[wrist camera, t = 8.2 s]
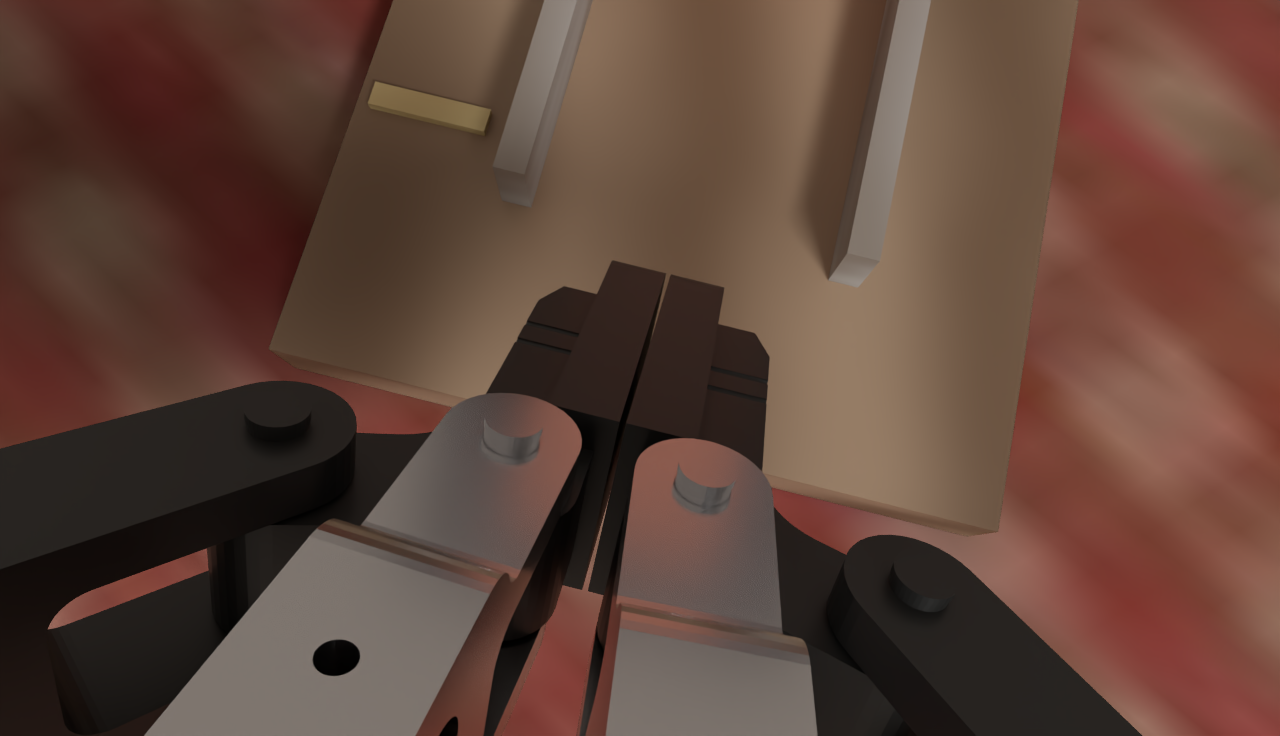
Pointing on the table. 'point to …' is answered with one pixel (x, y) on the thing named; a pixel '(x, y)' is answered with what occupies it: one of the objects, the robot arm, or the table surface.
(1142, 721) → the table surface
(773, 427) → the stand
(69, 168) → the table surface
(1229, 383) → the table surface
